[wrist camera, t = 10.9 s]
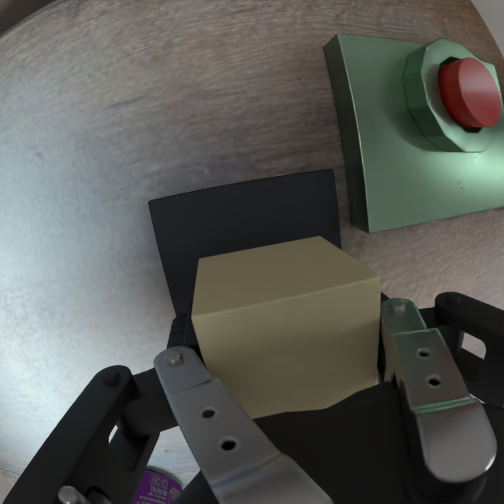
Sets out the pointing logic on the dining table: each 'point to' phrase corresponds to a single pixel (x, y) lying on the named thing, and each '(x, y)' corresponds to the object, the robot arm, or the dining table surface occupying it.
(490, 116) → the switch
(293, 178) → the mat
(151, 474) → the beverage can
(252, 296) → the block
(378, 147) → the switch base
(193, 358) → the robot arm
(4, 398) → the dining table surface
